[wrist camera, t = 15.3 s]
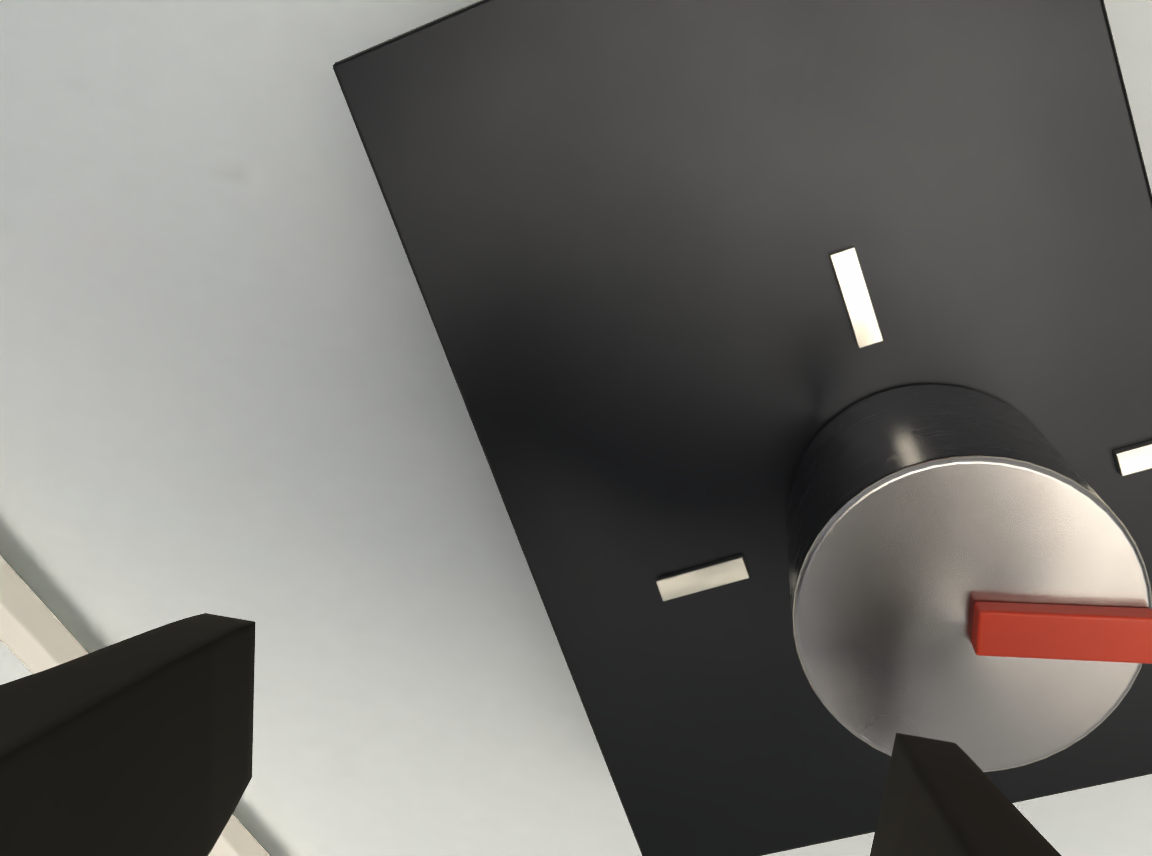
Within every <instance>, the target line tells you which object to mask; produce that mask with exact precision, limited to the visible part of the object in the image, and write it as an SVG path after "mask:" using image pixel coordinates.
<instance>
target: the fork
mask: <svg viewBox="0 0 1152 856" xmlns="http://www.w3.org/2000/svg"><path fill="white" fill-rule="evenodd" d="M0 640H1V641H2V642H3V643H4V644H5V645H6V646H7V647H8V648H9V649H10V650H11V651H12V653H13V654H14V655H15V656H16V657H17V658H18V659H19V660H20V661H21V662H22V663H23V664H24V665H25V666H26V667H27V668H28V669H29V670H30V671H31V672H32V674H35V673H38V672H41V671H44V670H47V669H50V668H52V667H55V666H58V665H60V664H63V663H65V662H68V661H71V660H73V659H76V658H79V657H81V656H84V655H87V654H89V653H88V652H87V651H86V650H85V649H84V648H83V647H82V646H81V645H80V643H79V642H78V641H77V640H76V639H75V638H74V637H73V636H72V634H71V633H70V632H69V631H68V630H67V629H66V628H65V627H64V626H63V624H62V623H61V622H60V621H59V620H58V619H57V618H56V617H55V616H54V614H53V613H52V612H51V611H50V610H49V609H48V608H47V607H46V606H45V604H44V603H43V602H42V601H41V600H40V599H39V598H38V597H37V596H36V594H35V593H34V592H33V591H32V590H31V589H30V588H29V587H28V585H27V584H26V583H25V582H24V581H23V580H22V579H21V578H20V577H19V575H18V574H17V573H16V572H15V571H14V570H13V569H12V568H11V567H10V565H9V564H8V563H7V562H6V561H5V560H4V559H3V558H2V557H1V555H0ZM208 856H270V855H269V854H268V853H267V852H266V850H265V849H264V848H263V847H262V846H261V845H260V844H259V843H258V842H257V840H256V839H255V838H254V837H253V836H252V835H251V834H250V833H249V832H248V830H247V829H246V828H245V827H244V826H243V825H242V824H241V823H240V822H239V820H238V819H237V818H236V817H235V816H234V815H233V814H232V815H231V817H230V819H229V821H228V823H227V824H226V826H225V828H224V830H223V831H222V833H221V835H220V837H219V838H218V840H217V842H216V843H215V845H214V847H213V849H212V850H211V852H210V853H209V855H208Z"/></svg>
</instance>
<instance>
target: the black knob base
mask: <svg viewBox="0 0 1152 856" xmlns="http://www.w3.org/2000/svg"><path fill="white" fill-rule="evenodd" d="M333 69H334V72H335V74H336V77H337V79H338V82H339V85H340V87H341V90H342V92H343V95H344V97H345V100H346V102H347V105H348V107H349V110H350V113H351V115H352V118H353V120H354V123H355V125H356V128H357V130H358V133H359V135H360V138H361V141H362V143H363V146H364V148H365V151H366V153H367V156H368V158H369V161H370V164H371V166H372V169H373V171H374V174H375V176H376V179H377V181H378V184H379V186H380V189H381V192H382V194H383V197H384V199H385V202H386V204H387V207H388V209H389V212H390V214H391V217H392V220H393V222H394V225H395V227H396V230H397V232H398V235H399V237H400V240H401V242H402V245H403V248H404V250H405V253H406V255H407V258H408V260H409V263H410V265H411V268H412V270H413V273H414V276H415V278H416V281H417V283H418V286H419V288H420V291H421V293H422V296H423V298H424V301H425V304H426V306H427V309H428V311H429V314H430V316H431V319H432V321H433V324H434V326H435V329H436V332H437V334H438V337H439V339H440V342H441V344H442V347H443V349H444V352H445V354H446V357H447V360H448V362H449V365H450V367H451V370H452V372H453V375H454V377H455V380H456V383H457V385H458V388H459V390H460V393H461V395H462V398H463V400H464V403H465V405H466V408H467V411H468V413H469V416H470V418H471V421H472V423H473V426H474V428H475V431H476V433H477V436H478V439H479V441H480V444H481V446H482V449H483V451H484V454H485V456H486V459H487V461H488V464H489V467H490V469H491V472H492V474H493V477H494V479H495V482H496V484H497V487H498V489H499V492H500V495H501V497H502V500H503V502H504V505H505V507H506V510H507V512H508V515H509V517H510V520H511V523H512V525H513V528H514V530H515V533H516V535H517V538H518V540H519V543H520V545H521V548H522V551H523V553H524V556H525V558H526V561H527V563H528V566H529V568H530V571H531V573H532V576H533V579H534V581H535V584H536V586H537V589H538V591H539V594H540V596H541V599H542V602H543V604H544V607H545V609H546V612H547V614H548V617H549V619H550V622H551V624H552V627H553V630H554V632H555V635H556V637H557V640H558V642H559V645H560V647H561V650H562V652H563V655H564V658H565V660H566V663H567V665H568V668H569V670H570V673H571V675H572V678H573V680H574V683H575V686H576V688H577V691H578V693H579V696H580V698H581V701H582V703H583V706H584V708H585V711H586V714H587V716H588V719H589V721H590V724H591V726H592V729H593V731H594V734H595V736H596V739H597V742H598V744H599V747H600V749H601V752H602V754H603V757H604V759H605V762H606V764H607V767H608V770H609V772H610V775H611V777H612V780H613V782H614V785H615V787H616V790H617V792H618V795H619V798H620V800H621V803H622V805H623V808H624V810H625V813H626V815H627V818H628V821H629V823H630V826H631V828H632V831H633V833H634V836H635V838H636V841H637V843H638V846H639V849H640V851H641V854H642V856H762V855H767V854H771V853H776V852H781V851H786V850H791V849H795V848H800V847H805V846H810V845H814V844H819V843H824V842H829V841H833V840H838V839H843V838H848V837H853V836H857V835H862V834H867V833H872V832H875V830H876V825H877V821H878V816H879V811H880V807H881V802H882V797H883V792H884V788H885V783H886V778H887V774H888V769H889V764H890V759H891V756H889V755H887V754H885V753H883V752H881V751H879V750H877V749H875V748H873V747H872V746H870V745H869V744H867V743H866V742H864V741H863V740H861V739H860V738H858V737H857V736H855V735H854V734H853V733H851V732H850V731H849V730H848V729H847V728H845V727H844V726H843V725H842V724H841V723H840V722H838V721H837V720H836V718H835V717H834V716H833V715H832V714H831V713H830V712H829V711H828V710H827V709H826V708H825V706H824V705H823V704H822V702H821V701H820V699H819V698H818V697H817V695H816V694H815V692H814V691H813V689H812V688H811V686H810V684H809V682H808V680H807V678H806V676H805V674H804V672H803V670H802V667H801V664H800V661H799V658H798V655H797V652H796V647H795V642H794V637H793V631H792V616H791V600H790V585H789V569H788V554H787V538H786V520H785V512H786V501H787V495H788V491H789V486H790V482H791V479H792V477H793V474H794V472H795V469H796V467H797V464H798V463H799V461H800V459H801V457H802V455H803V454H804V452H805V450H806V449H807V447H808V446H809V445H810V443H811V442H812V441H813V439H814V438H815V437H816V436H817V434H818V433H819V432H820V431H821V430H822V429H823V428H824V427H825V426H826V425H827V424H828V423H829V422H831V421H832V420H833V419H834V418H836V417H837V416H838V415H839V414H841V413H842V412H843V411H845V410H847V409H848V408H850V407H852V406H853V405H855V404H857V403H858V402H860V401H862V400H865V399H867V398H869V397H871V396H874V395H876V394H879V393H882V392H885V391H889V390H892V389H896V388H901V387H907V386H913V385H929V384H936V385H950V386H956V387H962V388H967V389H971V390H974V391H977V392H980V393H983V394H986V395H989V396H991V397H993V398H995V399H998V400H1000V401H1002V402H1004V403H1006V404H1007V405H1009V406H1010V407H1012V408H1013V409H1015V410H1016V411H1018V412H1019V413H1021V414H1022V415H1023V416H1025V417H1026V418H1027V419H1028V420H1029V421H1030V422H1031V423H1033V424H1034V425H1035V426H1036V427H1037V428H1038V429H1039V431H1040V432H1041V433H1042V434H1043V435H1044V436H1045V437H1046V438H1047V439H1048V440H1049V442H1050V443H1051V444H1052V445H1053V446H1054V447H1055V448H1056V449H1057V450H1058V451H1059V453H1060V454H1061V455H1062V456H1063V457H1064V458H1065V459H1066V460H1067V461H1068V462H1069V464H1070V465H1071V466H1072V467H1073V468H1074V469H1075V470H1076V471H1077V472H1078V473H1079V474H1080V476H1081V477H1082V478H1083V479H1084V480H1085V481H1086V482H1087V483H1088V484H1089V485H1090V487H1091V488H1092V489H1093V490H1094V491H1095V492H1096V493H1097V494H1098V495H1099V496H1100V498H1101V499H1102V500H1103V501H1104V502H1105V503H1106V504H1107V505H1108V506H1109V507H1110V509H1111V510H1112V511H1113V512H1114V513H1115V514H1116V516H1117V517H1118V518H1119V519H1120V520H1121V521H1122V523H1123V524H1124V525H1125V527H1126V528H1127V530H1128V531H1129V533H1130V535H1131V536H1132V538H1133V539H1134V541H1135V542H1136V544H1137V547H1138V549H1139V551H1140V553H1141V556H1142V558H1143V560H1144V562H1145V566H1146V569H1147V573H1148V577H1149V580H1150V584H1151V593H1152V193H1151V189H1150V185H1149V181H1148V177H1147V173H1146V169H1145V165H1144V161H1143V157H1142V153H1141V149H1140V145H1139V141H1138V137H1137V133H1136V129H1135V125H1134V121H1133V117H1132V113H1131V109H1130V105H1129V101H1128V97H1127V93H1126V89H1125V85H1124V81H1123V77H1122V73H1121V69H1120V65H1119V61H1118V57H1117V53H1116V49H1115V44H1114V40H1113V36H1112V32H1111V28H1110V24H1109V20H1108V16H1107V12H1106V8H1105V4H1104V0H481V1H479V2H476V3H474V4H472V5H469V6H467V7H465V8H462V9H460V10H458V11H455V12H453V13H451V14H448V15H446V16H444V17H441V18H439V19H437V20H434V21H432V22H430V23H427V24H425V25H423V26H420V27H418V28H416V29H413V30H411V31H409V32H406V33H404V34H401V35H399V36H397V37H394V38H392V39H390V40H387V41H385V42H383V43H380V44H378V45H376V46H373V47H371V48H369V49H366V50H364V51H362V52H359V53H357V54H355V55H352V56H350V57H348V58H345V59H343V60H341V61H338V62H336V63H335V64H334V65H333ZM984 773H985V774H986V775H987V777H988V778H989V779H990V780H991V781H992V782H993V783H994V784H995V785H996V786H997V787H998V789H999V790H1000V791H1001V792H1002V793H1003V794H1004V795H1005V796H1006V797H1007V798H1008V800H1009V801H1010V802H1011V803H1015V802H1020V801H1024V800H1029V799H1034V798H1039V797H1043V796H1048V795H1053V794H1058V793H1063V792H1067V791H1072V790H1077V789H1082V788H1086V787H1091V786H1096V785H1101V784H1105V783H1110V782H1115V781H1120V780H1125V779H1129V778H1134V777H1139V776H1144V775H1148V774H1152V664H1146V663H1142V666H1141V669H1140V671H1139V673H1138V675H1137V677H1136V679H1135V681H1134V683H1133V684H1132V686H1131V688H1130V690H1129V691H1128V693H1127V694H1126V695H1125V697H1124V698H1123V700H1122V701H1121V702H1120V704H1119V705H1118V706H1117V708H1116V709H1115V710H1114V711H1113V712H1112V713H1111V714H1110V715H1109V716H1108V717H1107V718H1106V719H1105V720H1104V721H1103V722H1102V723H1101V724H1100V725H1099V726H1097V727H1096V728H1095V729H1094V730H1093V731H1091V732H1090V733H1089V734H1088V735H1086V736H1085V737H1084V738H1082V739H1080V740H1079V741H1077V742H1076V743H1074V744H1073V745H1071V746H1069V747H1068V748H1066V749H1064V750H1062V751H1060V752H1058V753H1056V754H1053V755H1051V756H1049V757H1047V758H1045V759H1042V760H1039V761H1036V762H1033V763H1030V764H1027V765H1024V766H1019V767H1015V768H1010V769H1006V770H1000V771H990V772H984Z"/></svg>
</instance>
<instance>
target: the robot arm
mask: <svg viewBox="0 0 1152 856" xmlns="http://www.w3.org/2000/svg"><path fill="white" fill-rule="evenodd" d="M254 656H255V622H253V621H247V620H241V619H236V618H230V617H224V616H218V615H213V614H207V613H204V614H200V615H196V616H192V617H189V618H185V619H182V620H179V621H176V622H173V623H170V624H167V625H164V626H161V627H159V628H156V629H153V630H150V631H148V632H145V633H142V634H140V635H137V636H134V637H132V638H129V639H126V640H124V641H121V642H118V643H116V644H113V645H110V646H108V647H105V648H103V649H100V650H97V651H95V652H92V653H89V654H87V655H84V656H81V657H79V658H76V659H73V660H71V661H68V662H65V663H63V664H60V665H58V666H55V667H52V668H50V669H47V670H44V671H41V672H38V673H35V674H32V675H29V676H26V677H23V678H21V679H18V680H15V681H12V682H9V683H6V684H3V685H0V856H208V855H209V853H210V852H211V850H212V849H213V847H214V845H215V843H216V842H217V840H218V838H219V837H220V835H221V833H222V831H223V830H224V828H225V826H226V824H227V823H228V821H229V819H230V817H231V815H232V814H233V812H234V810H235V808H236V806H237V804H238V802H239V800H240V798H241V797H242V795H243V793H244V791H245V789H246V787H247V785H248V783H249V781H250V780H251V778H252V744H253V700H254ZM870 856H1061V855H1060V854H1059V853H1058V852H1057V851H1056V850H1055V849H1054V848H1053V847H1052V845H1051V844H1050V843H1049V842H1048V841H1047V840H1046V839H1045V838H1044V837H1043V836H1042V835H1041V834H1040V833H1039V832H1038V831H1037V830H1036V829H1035V828H1034V827H1033V825H1032V824H1031V823H1030V822H1029V821H1028V820H1027V819H1026V818H1025V817H1024V816H1023V815H1022V814H1021V813H1020V812H1019V810H1018V809H1017V808H1016V807H1015V806H1014V805H1013V804H1012V803H1011V802H1010V801H1009V800H1008V798H1007V797H1006V796H1005V795H1004V794H1003V793H1002V792H1001V791H1000V790H999V789H998V787H997V786H996V785H995V784H994V783H993V782H992V781H991V780H990V779H989V778H988V777H987V775H986V774H985V773H984V772H983V771H982V770H981V769H980V768H979V767H978V766H977V765H976V763H975V762H974V761H973V760H972V759H971V758H970V757H969V756H968V755H967V754H966V753H965V752H964V751H963V750H962V749H961V748H960V747H959V746H958V745H957V744H956V743H953V742H948V741H942V740H936V739H930V738H924V737H919V736H913V735H907V734H901V733H896V736H895V741H894V745H893V750H892V755H891V759H890V764H889V769H888V774H887V778H886V783H885V788H884V792H883V797H882V802H881V807H880V811H879V816H878V821H877V825H876V830H875V835H874V839H873V844H872V849H871V854H870Z"/></svg>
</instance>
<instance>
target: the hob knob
mask: <svg viewBox="0 0 1152 856" xmlns="http://www.w3.org/2000/svg"><path fill="white" fill-rule="evenodd" d="M785 520H786V538H787V554H788V569H789V585H790V600H791V616H792V631H793V637H794V642H795V647H796V652H797V655H798V658H799V661H800V664H801V667H802V670H803V672H804V674H805V676H806V678H807V680H808V682H809V684H810V686H811V688H812V689H813V691H814V692H815V694H816V695H817V697H818V698H819V699H820V701H821V702H822V704H823V705H824V706H825V708H826V709H827V710H828V711H829V712H830V713H831V714H832V715H833V716H834V717H835V718H836V720H837V721H838V722H840V723H841V724H842V725H843V726H844V727H845V728H847V729H848V730H849V731H850V732H851V733H853V734H854V735H855V736H857V737H858V738H860V739H861V740H863V741H864V742H866V743H867V744H869V745H870V746H872V747H873V748H875V749H877V750H879V751H881V752H883V753H885V754H887V755H889V756H891V755H892V750H893V745H894V741H895V736H896V733H901V734H907V735H913V736H919V737H924V738H930V739H936V740H942V741H948V742H953V743H956V744H957V745H958V746H959V747H960V748H961V749H962V750H963V751H964V752H965V753H966V754H967V755H968V756H969V757H970V758H971V759H972V760H973V761H974V762H975V763H976V765H977V766H978V767H979V768H980V769H981V770H982V771H983V772H990V771H1000V770H1006V769H1010V768H1015V767H1019V766H1024V765H1027V764H1030V763H1033V762H1036V761H1039V760H1042V759H1045V758H1047V757H1049V756H1051V755H1053V754H1056V753H1058V752H1060V751H1062V750H1064V749H1066V748H1068V747H1069V746H1071V745H1073V744H1074V743H1076V742H1077V741H1079V740H1080V739H1082V738H1084V737H1085V736H1086V735H1088V734H1089V733H1090V732H1091V731H1093V730H1094V729H1095V728H1096V727H1097V726H1099V725H1100V724H1101V723H1102V722H1103V721H1104V720H1105V719H1106V718H1107V717H1108V716H1109V715H1110V714H1111V713H1112V712H1113V711H1114V710H1115V709H1116V708H1117V706H1118V705H1119V704H1120V702H1121V701H1122V700H1123V698H1124V697H1125V695H1126V694H1127V693H1128V691H1129V690H1130V688H1131V686H1132V684H1133V683H1134V681H1135V679H1136V677H1137V675H1138V673H1139V671H1140V669H1141V666H1142V663H1146V664H1152V593H1151V584H1150V580H1149V577H1148V573H1147V569H1146V566H1145V562H1144V560H1143V558H1142V556H1141V553H1140V551H1139V549H1138V547H1137V544H1136V542H1135V541H1134V539H1133V538H1132V536H1131V535H1130V533H1129V531H1128V530H1127V528H1126V527H1125V525H1124V524H1123V523H1122V521H1121V520H1120V519H1119V518H1118V517H1117V516H1116V514H1115V513H1114V512H1113V511H1112V510H1111V509H1110V507H1109V506H1108V505H1107V504H1106V503H1105V502H1104V501H1103V500H1102V499H1101V498H1100V496H1099V495H1098V494H1097V493H1096V492H1095V491H1094V490H1093V489H1092V488H1091V487H1090V485H1089V484H1088V483H1087V482H1086V481H1085V480H1084V479H1083V478H1082V477H1081V476H1080V474H1079V473H1078V472H1077V471H1076V470H1075V469H1074V468H1073V467H1072V466H1071V465H1070V464H1069V462H1068V461H1067V460H1066V459H1065V458H1064V457H1063V456H1062V455H1061V454H1060V453H1059V451H1058V450H1057V449H1056V448H1055V447H1054V446H1053V445H1052V444H1051V443H1050V442H1049V440H1048V439H1047V438H1046V437H1045V436H1044V435H1043V434H1042V433H1041V432H1040V431H1039V429H1038V428H1037V427H1036V426H1035V425H1034V424H1033V423H1031V422H1030V421H1029V420H1028V419H1027V418H1026V417H1025V416H1023V415H1022V414H1021V413H1019V412H1018V411H1016V410H1015V409H1013V408H1012V407H1010V406H1009V405H1007V404H1006V403H1004V402H1002V401H1000V400H998V399H995V398H993V397H991V396H989V395H986V394H983V393H980V392H977V391H974V390H971V389H967V388H962V387H956V386H950V385H936V384H929V385H913V386H907V387H901V388H896V389H892V390H889V391H885V392H882V393H879V394H876V395H874V396H871V397H869V398H867V399H865V400H862V401H860V402H858V403H857V404H855V405H853V406H852V407H850V408H848V409H847V410H845V411H843V412H842V413H841V414H839V415H838V416H837V417H836V418H834V419H833V420H832V421H831V422H829V423H828V424H827V425H826V426H825V427H824V428H823V429H822V430H821V431H820V432H819V433H818V434H817V436H816V437H815V438H814V439H813V441H812V442H811V443H810V445H809V446H808V447H807V449H806V450H805V452H804V454H803V455H802V457H801V459H800V461H799V463H798V464H797V467H796V469H795V472H794V474H793V477H792V479H791V482H790V486H789V491H788V495H787V501H786V512H785Z"/></svg>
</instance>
